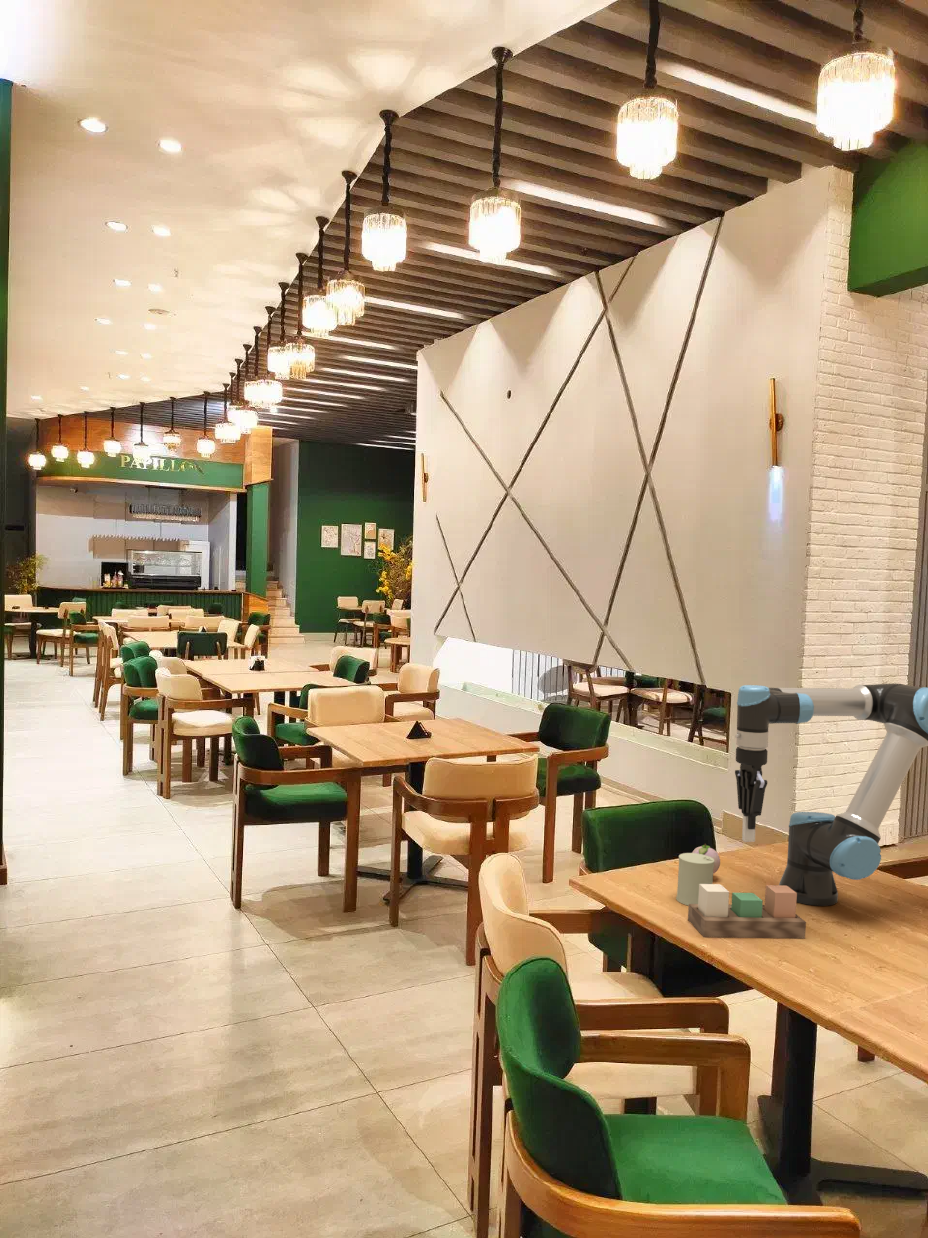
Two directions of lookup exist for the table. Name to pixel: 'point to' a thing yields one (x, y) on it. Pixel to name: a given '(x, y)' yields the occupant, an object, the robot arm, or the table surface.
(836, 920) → the table surface
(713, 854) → the decorative fruit
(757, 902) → the green block
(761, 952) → the table surface
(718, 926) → the walnut board
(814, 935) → the table surface
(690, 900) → the can
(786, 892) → the terracotta block
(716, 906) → the cream block
